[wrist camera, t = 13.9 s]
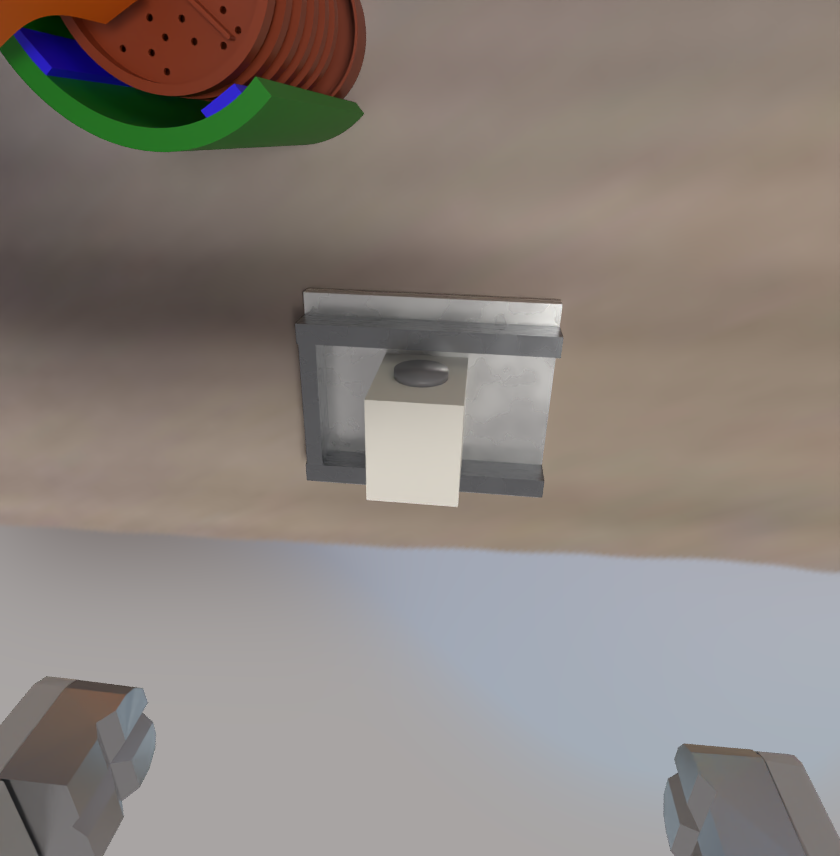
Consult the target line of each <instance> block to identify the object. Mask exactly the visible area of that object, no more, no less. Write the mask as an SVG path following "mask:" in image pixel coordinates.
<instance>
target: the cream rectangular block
mask: <svg viewBox="0 0 840 856" xmlns="http://www.w3.org/2000/svg"><path fill="white" fill-rule="evenodd" d="M467 373H468V358H464V357H446V356H428V355H410V354H392V353H386V354H385V356H384V358H383V360H382V363H381V365H380V367H379V369H378V371H377V373H376V376H375V378H374V380H373V382H372V384H371V386H370V389H369V391H368V393H367V395H366V397H365V399H364V405H365V450H366V495H367V500H375V501H388V502H401V503H414V504H427V505H440V506H453V507H458V499H459V488H460V476H461V464H462V452H463V438H464V422H465V405H466V389H467Z"/></svg>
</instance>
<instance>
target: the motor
mask: <svg viewBox="0 0 840 856" xmlns="http://www.w3.org/2000/svg"><path fill="white" fill-rule="evenodd" d="M365 46H366V26H365V19H364V13H363V9H362V5H361V2H360V0H0V51H1V53H2V54H3V55H4V57H5V58H6V60H7V61H8V62H9V64H10V65H11V66H12V67H13V69H14V70H15V71H16V72H17V74H18V75H19V76H20V77H21V78H22V79H23V80H24V82H25V83H26V84H27V85H28V86H29V87H30V88H31V89H32V90H33V91H34V92H35V93H36V94H37V95H38V96H39V97H40V98H41V99H42V100H44V101H45V102H46V103H47V104H48V105H49V106H51V107H52V108H53V109H54V110H55V111H57V112H58V113H59V114H61V115H62V116H63V117H65V118H66V119H68V120H69V121H71V122H72V123H74V124H75V125H77V126H78V127H80V128H82V129H84V130H86V131H87V132H89V133H91V134H93V135H95V136H97V137H99V138H102V139H104V140H107V141H109V142H112V143H115V144H118V145H121V146H125V147H129V148H133V149H138V150H144V151H153V152H175V151H194V150H213V149H233V148H252V147H271V146H291V145H308V144H315V143H319V142H323V141H326V140H329V139H331V138H334V137H336V136H338V135H339V134H341V133H343V132H344V131H346V130H347V129H349V128H350V127H351V126H352V125H354V124H355V123H356V122H357V121H358V120H359V119H360V118H361V117H362V116H363V114H364V113H363V111H362V110H361V109H360V108H359V106H358V105H357V104H356V103H355V102H351V101H347V100H343V98H344V97H345V96H346V95H347V94H348V92H349V91H350V90H351V88H352V87H353V85H354V83H355V81H356V79H357V77H358V75H359V72H360V70H361V66H362V63H363V59H364V54H365Z"/></svg>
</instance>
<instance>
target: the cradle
mask: <svg viewBox="0 0 840 856" xmlns="http://www.w3.org/2000/svg"><path fill="white" fill-rule="evenodd" d="M303 295H304V310H305V314H304V315H303V316H302V317H301V318H300V319H299V320H298V321H297V322H296V323H295V329H296V342H297V344H298V346H299V360H300V373H301V387H302V400H303V413H304V427H305V440H306V454H307V463H306V474H307V480H311V481H321V482H335V483H348V484H362V485H366V450H365V405H364V399H365V397H366V395H367V393H368V391H369V389H370V386H371V384H372V382H373V380H374V378H375V376H376V373H377V371H378V369H379V367H380V365H381V363H382V360H383V358H384V356H385V354H386V353H392V354H410V355H428V356H446V357H464V358H468V373H467V389H466V405H465V422H464V438H463V452H462V464H461V476H460V488H459V492H471V493H485V494H498V495H512V496H525V497H542V494H543V487H544V476H543V470H542V459H543V451H544V443H545V436H546V428H547V420H548V412H549V405H550V397H551V389H552V381H553V374H554V366H555V358H561V352H562V344H563V335H562V332H561V329H560V319H561V312H562V302H561V300H553V299H532V298H510V297H488V296H467V295H445V294H423V293H401V292H380V291H358V290H336V289H314V288H308V289H306V290H305V291H304V292H303Z"/></svg>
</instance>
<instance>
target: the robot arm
mask: <svg viewBox="0 0 840 856" xmlns="http://www.w3.org/2000/svg"><path fill="white" fill-rule="evenodd" d="M147 703H148V702H147V699H146V696H145V693H144V690H143V688H137V687H129V686H122V685H114V684H106V683H98V682H89V681H81V680H76V679H67V678H57V677H48V676H46V677H45V678H43V679H42V680H40V681H39V682H37V683H35V684H34V685H33V686H32V687H31V689H30V690H29V691H28V692H27V694H26V695H25V696H24V697H23V698H22V699H21V701H20V702H19V703H18V704H17V706H16V707H15V708H14V709H13V710H12V712H11V713H10V714H9V715H8V716H7V718H6V719H5V720H4V721H3V722H2V724H1V725H0V856H103V855H104V853H105V851H106V849H107V847H108V845H109V844H110V842H111V840H112V838H113V836H114V834H115V833H116V831H117V829H118V827H119V825H120V823H121V821H122V820H123V817H124V815H123V806H122V800H124V799H125V798H126V797H128V796H129V795H130V794H132V793H133V792H134V791H135V790H137V789H138V788H139V787H140V785H141V784H142V782H143V780H144V778H145V776H146V774H147V772H148V770H149V768H150V764H151V761H152V757H153V754H154V750H155V742H156V741H155V740H156V732H155V728H154V724H153V722H152V721H151V720H150V719H149V718H148V717H146V715H145V714H143V713H142V712H143V710H144V708H145V707H146V705H147ZM674 760H675V764H676V767H677V770H678V773H677V774H675V775H673V776H672V777H670V778H669V779H668V781H667V784H666V788H665V792H664V821H665V828H666V834H667V838H668V842H669V846H670V851H671V852H672V853H673V854H674V856H840V838H839V836H838V834H837V832H836V830H835V828H834V826H833V824H832V822H831V820H830V818H829V816H828V814H827V812H826V810H825V808H824V806H823V804H822V802H821V800H820V798H819V796H818V794H817V792H816V790H815V788H814V786H813V784H812V782H811V780H810V778H809V776H808V774H807V773H806V770H805V768H804V766H803V764H802V763H801V762H800V761H799V760H798V759H797V758H796V757H795V756H794V755H789V754H780V753H769V752H758V751H757V752H756V751H753V750H750V749H738V748H727V747H716V746H705V745H693V744H682V745H681V746H680V747H679V748H678V750H677V753H676V756H675V759H674Z"/></svg>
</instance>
